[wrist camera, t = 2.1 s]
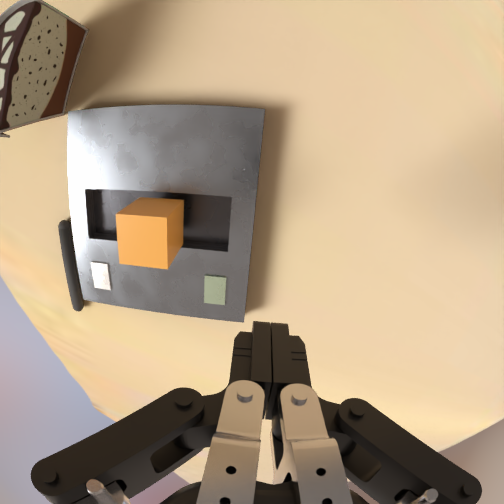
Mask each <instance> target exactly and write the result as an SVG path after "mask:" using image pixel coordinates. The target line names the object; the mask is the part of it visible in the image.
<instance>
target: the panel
mask: <svg viewBox="0 0 504 504" xmlns="http://www.w3.org/2000/svg"><path fill="white" fill-rule="evenodd" d="M264 114H265V109H258V108H246V107H232V106H213V105H137V106H119V107H105V108H94V109H85V110H76V111H68V132H67V159H68V186H69V201H70V213H71V223H72V232H73V240H74V248H75V255H76V261H77V267H78V273H79V279H80V284H81V290H82V295H83V300H88V301H93V302H98V303H104V304H110V305H115V306H121V307H127V308H134V309H140V310H147V311H153V312H160V313H167V314H175V315H182V316H190V317H198V318H207V319H215V320H225V321H234V322H244V316H245V306H246V296H247V285H248V275H249V265H250V255H251V245H252V235H253V225H254V215H255V204H256V194H257V184H258V174H259V164H260V154H261V144H262V134H263V124H264ZM140 197H147V198H163V199H178V200H184V218H183V245H182V247H181V248H180V250H179V252H178V253H177V255H176V257H175V258H174V260H173V262H172V263H171V265H170V267H169V268H168V269H160V268H151V267H142V266H134V265H126V264H119V253H118V242H117V228H116V213H118V212H119V211H121V210H122V209H123V208H125V207H126V206H128V205H129V204H131V203H132V202H134V201H135V200H137V199H138V198H140Z"/></svg>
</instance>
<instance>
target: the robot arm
mask: <svg viewBox="0 0 504 504" xmlns="http://www.w3.org/2000/svg"><path fill="white" fill-rule="evenodd" d="M264 416H265V419H269V420H272V429H271V432H270V441H271V451H272V461H273V470H274V478H273V484H267V483H263V482H259V481H256V477H257V469H258V461H259V452H260V442H261V440H260V434H261V425H262V419H264ZM205 447H210V450H209V454H208V458H207V462H206V466H205V470H204V474H203V478H202V481H201V482H196V483H193V484H190V485H188V486H185V487H183V488H181V489H180V490H178V491H176V492H175V493H173V494H172V495H171V496H169V497H168V498H167V499H165V500H164V501H163V502H161V503H160V504H369V503H367V502H366V501H365V500H364V499H363V498H362V497H361V496H359V495H358V494H357V493H355V492H354V491H352V490H350V489H349V486H348V482H347V478H348V479H349V480H350V481H352V482H353V483H354V484H355V485H357V486H358V487H359V488H360V489H362V490H363V491H364V492H365V493H367V494H368V495H369V496H370V497H372V498H373V499H374V500H376V501H377V502H379V504H476V503H477V502H478V500H479V499H480V497H481V493H482V488H481V484H480V482H479V481H478V479H476V478H475V477H474V476H472V475H471V474H469V473H468V472H466V471H465V470H463V469H461V468H460V467H458V466H457V465H455V464H453V463H452V462H451V461H449V460H448V459H446V458H445V457H443V456H442V455H441V454H439V453H438V452H436V451H435V450H433V449H432V448H430V447H429V446H427V445H426V444H425V443H423V442H422V441H420V440H419V439H417V438H416V437H415V436H413V435H412V434H410V433H409V432H408V431H406V430H405V429H403V428H402V427H401V426H399V425H398V424H396V423H395V422H394V421H392V420H391V419H389V418H388V417H387V416H385V415H384V414H383V413H381V412H380V411H379V410H377V409H376V408H374V407H373V406H372V405H370V404H369V403H368V402H366V401H364V400H362V399H358V398H350V399H347V400H345V401H343V402H342V403H341V405H340V404H336V403H332V402H328V401H325V400H323V399H321V398H320V397H318V396H317V393H316V392H315V391H314V390H313V389H312V386H311V381H310V374H309V368H308V361H307V355H306V349H305V344H304V342H303V341H302V340H301V338H300V337H299V336H291V335H289V329H288V324H283V323H271V325H270V323H269V322H258V321H253V328H252V332H241V331H240V332H239V334H238V335H237V336H236V337H235V339H234V347H233V356H232V363H231V372H230V380H229V384H228V386H227V387H226V388H225V389H224V390H223V391H221V392H219V393H217V394H213V395H207V396H202V395H201V394H200V393H199V392H197V391H196V390H194V389H191V388H177V389H174V390H172V391H170V392H168V393H167V394H165V395H163V396H162V397H160V398H158V399H156V400H155V401H153V402H151V403H150V404H148V405H146V406H144V407H143V408H141V409H139V410H137V411H136V412H134V413H132V414H130V415H129V416H127V417H125V418H123V419H121V420H119V421H118V422H116V423H114V424H112V425H110V426H109V427H107V428H105V429H103V430H101V431H99V432H97V433H95V434H93V435H91V436H89V437H87V438H85V439H83V440H81V441H80V442H78V443H76V444H73V445H71V446H69V447H68V448H65V449H63V450H61V451H59V452H57V453H55V454H53V455H51V456H49V457H47V458H45V459H42V460H40V461H39V462H37V463H36V464H35V465H34V467H33V468H32V471H31V480H32V483H33V485H34V486H35V488H36V489H37V490H38V491H39V492H40V493H41V494H43V495H44V496H45V497H46V499H47V500H49V501H50V502H51V503H52V504H131V503H130V501H129V499H130V498H132V497H133V496H135V495H136V494H138V493H140V492H141V491H143V490H145V489H146V488H148V487H150V486H151V485H153V484H154V483H156V482H157V481H159V480H160V479H162V478H163V477H165V476H166V475H168V474H169V473H171V472H172V471H174V470H175V469H177V468H178V467H180V466H181V465H182V464H184V463H185V462H187V461H188V460H189V459H191V458H192V457H194V456H195V455H196V454H198V453H199V452H200V451H202V450H203V448H205ZM346 477H347V478H346Z"/></svg>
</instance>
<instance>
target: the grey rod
mask: <svg viewBox="0 0 504 504" xmlns="http://www.w3.org/2000/svg"><path fill="white" fill-rule="evenodd" d="M58 228H59V236H60V243H61V249H62V256H63V261H64V267H65V273H66V278H67V283H68V288H69V292H70V297H71V301H72V305H73V308H74V310H76V311H81V310H82V309H83V301H82V296H81V291H80V286H79V281H78V275H77V270H76V264H75V257H74V251H73V243H72V236H71V227H70V223H69V222H68V221H67V220H62V221H61V222H60V223H59V226H58Z"/></svg>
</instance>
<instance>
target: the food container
mask: <svg viewBox="0 0 504 504" xmlns="http://www.w3.org/2000/svg"><path fill="white" fill-rule="evenodd" d="M88 30H89V29H87V28H86V27H84V26H83V25H81V24H80V23H78V22H77V21H75V20H74V19H72V18H70V17H69V16H67V15H66V14H64V13H62V12H61V11H59V10H57V9H56V8H54V7H53V6H51V5H49V4H48V3H46V2H44V1H42V0H20V1H18V2H16V3H15V4H13V5H12V6H10V7H9V8H8V9H7V10H6V11H4V12H3V13H2V14H1V15H0V137H8V138H10V136H9V135H6V134H4V133H3V132H6V131H9V130H12V129H15V128H18V127H21V126H25V125H28V124H32V123H35V122H39V121H43V120H47V119H51V118H55V117H59V116H63V115H64V112H65V108H66V103H67V99H68V95H69V91H70V87H71V83H72V80H73V76H74V73H75V69H76V66H77V63H78V59H79V56H80V53H81V50H82V47H83V44H84V41H85V38H86V36H87V33H88Z"/></svg>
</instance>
